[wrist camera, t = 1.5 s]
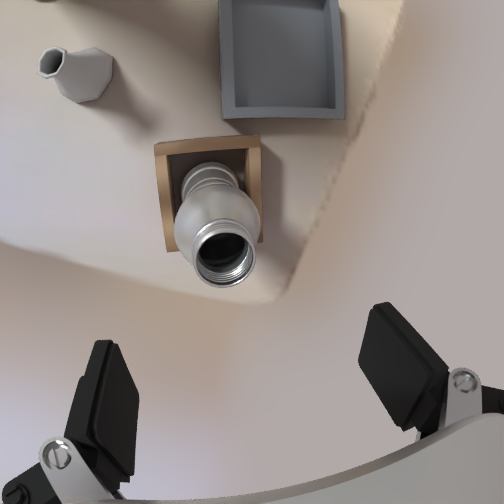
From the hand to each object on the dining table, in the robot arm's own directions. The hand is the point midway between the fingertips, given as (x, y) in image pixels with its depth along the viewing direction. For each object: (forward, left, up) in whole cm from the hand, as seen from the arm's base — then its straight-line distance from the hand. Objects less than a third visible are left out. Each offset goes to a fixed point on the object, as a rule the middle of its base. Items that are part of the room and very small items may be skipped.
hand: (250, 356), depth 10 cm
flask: (-16, -14, -28) cm, 35 cm away
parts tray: (-17, +9, -28) cm, 34 cm away
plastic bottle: (0, 0, -28) cm, 28 cm away
